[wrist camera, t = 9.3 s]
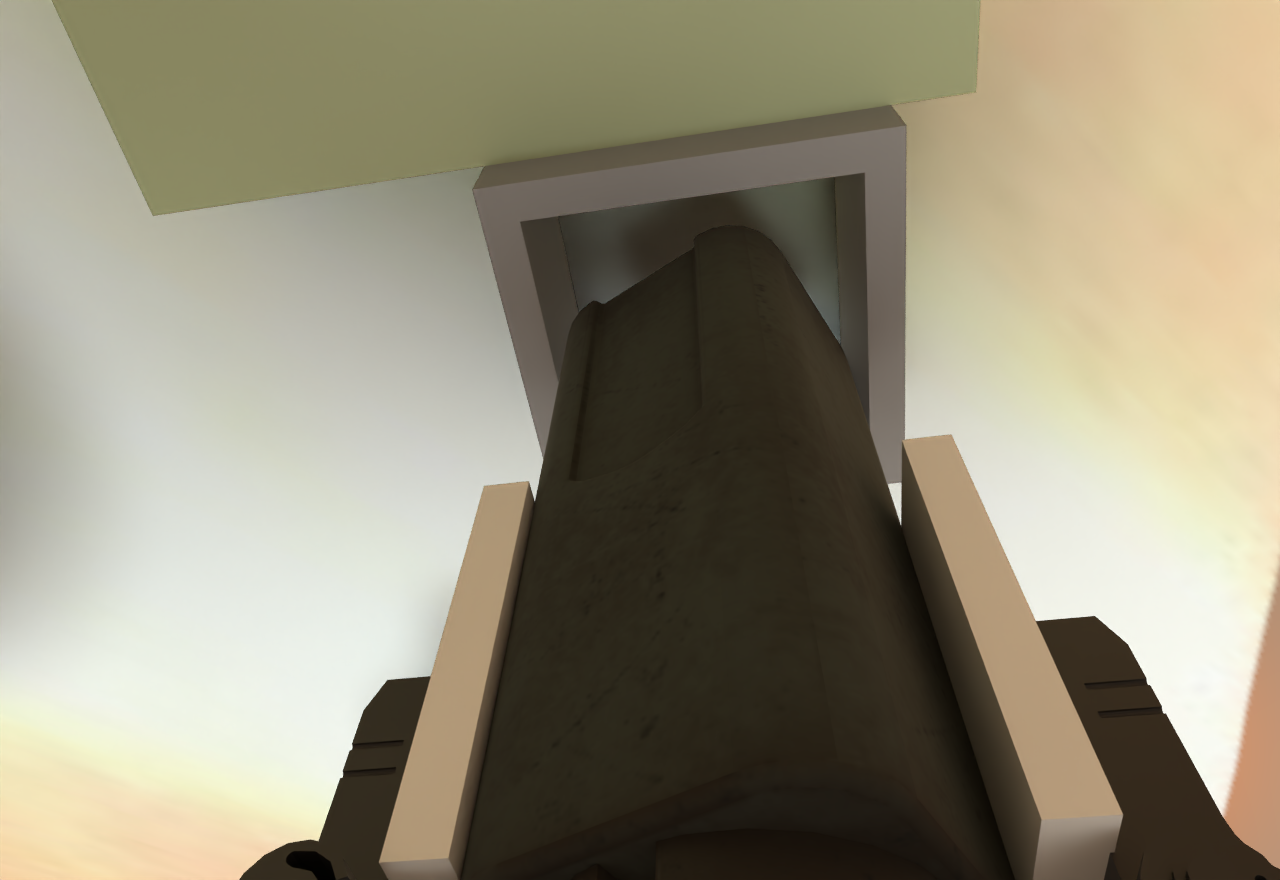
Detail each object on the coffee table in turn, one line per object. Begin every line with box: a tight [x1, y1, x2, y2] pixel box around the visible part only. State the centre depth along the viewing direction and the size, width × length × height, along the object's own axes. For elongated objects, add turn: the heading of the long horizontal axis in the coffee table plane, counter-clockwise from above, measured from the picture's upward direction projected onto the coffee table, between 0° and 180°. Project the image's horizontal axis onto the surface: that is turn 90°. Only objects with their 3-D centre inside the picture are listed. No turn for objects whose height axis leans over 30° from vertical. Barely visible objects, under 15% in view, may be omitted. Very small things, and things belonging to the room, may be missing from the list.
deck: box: [52, 0, 980, 484], centre depth 20 cm, size 18×17×4 cm
